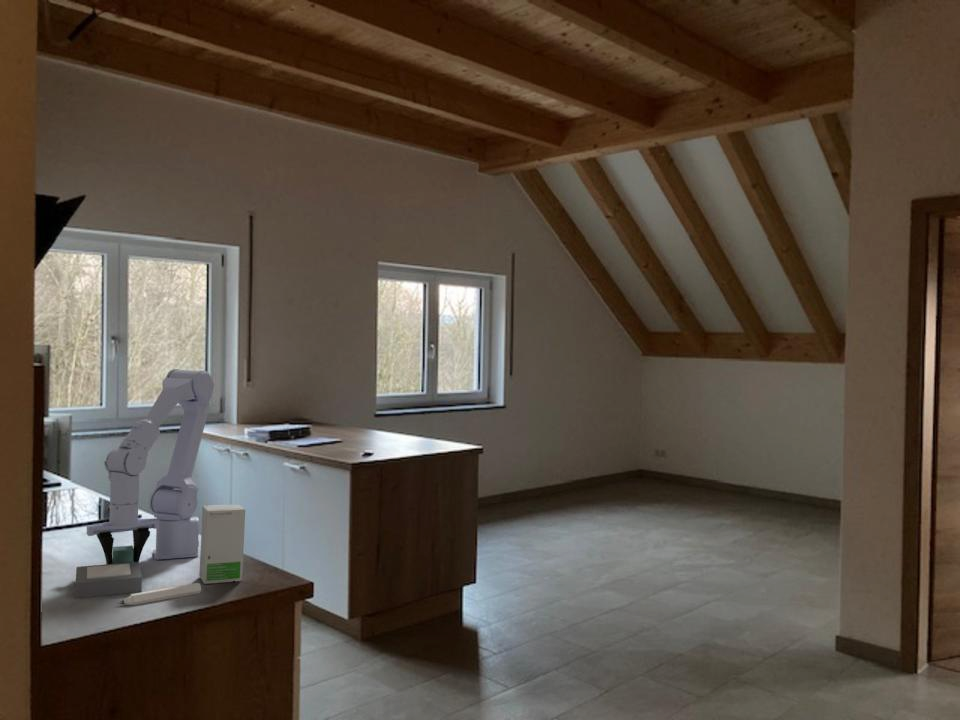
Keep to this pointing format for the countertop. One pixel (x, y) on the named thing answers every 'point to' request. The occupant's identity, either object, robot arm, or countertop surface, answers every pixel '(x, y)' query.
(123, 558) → the teal block
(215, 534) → the skincare box
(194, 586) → the marker
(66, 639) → the countertop surface
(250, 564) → the countertop surface
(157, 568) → the countertop surface
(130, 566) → the charcoal plinth
